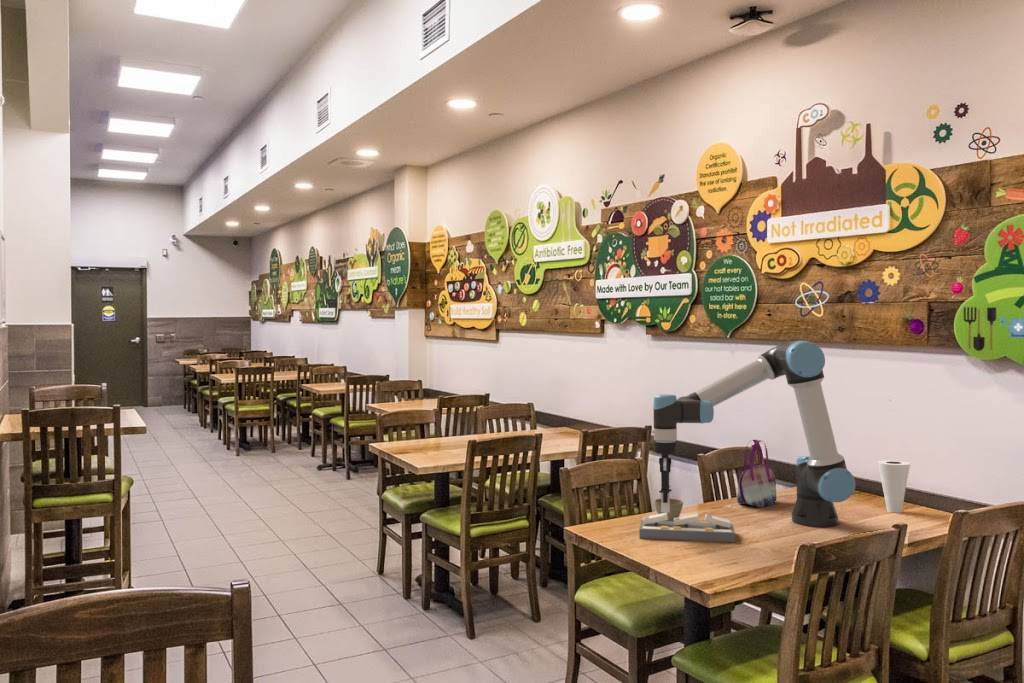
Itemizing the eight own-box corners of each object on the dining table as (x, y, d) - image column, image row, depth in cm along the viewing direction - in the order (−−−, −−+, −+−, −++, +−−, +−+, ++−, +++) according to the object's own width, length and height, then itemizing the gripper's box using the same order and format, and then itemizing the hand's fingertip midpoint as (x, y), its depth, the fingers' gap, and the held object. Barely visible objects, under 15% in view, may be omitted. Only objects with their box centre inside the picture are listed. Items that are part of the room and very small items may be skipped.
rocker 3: (729, 524, 246) (730, 519, 246) (729, 527, 242) (730, 522, 242) (704, 518, 248) (705, 513, 248) (704, 521, 244) (706, 516, 244)
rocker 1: (668, 517, 251) (666, 512, 251) (667, 520, 247) (666, 514, 247) (644, 521, 252) (643, 516, 252) (644, 524, 248) (642, 519, 249)
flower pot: (683, 525, 260) (683, 504, 260) (654, 524, 262) (654, 503, 262) (682, 518, 270) (682, 498, 270) (654, 517, 272) (654, 497, 272)
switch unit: (732, 532, 249) (732, 521, 249) (735, 542, 237) (734, 530, 237) (641, 529, 256) (641, 518, 256) (639, 538, 244) (639, 526, 244)
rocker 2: (698, 518, 248) (697, 513, 249) (699, 521, 245) (697, 515, 245) (674, 522, 250) (673, 517, 250) (674, 525, 246) (673, 520, 246)
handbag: (750, 510, 281) (749, 443, 281) (728, 505, 289) (727, 441, 289) (784, 502, 293) (783, 438, 293) (763, 498, 301) (762, 436, 301)
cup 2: (916, 511, 274) (915, 463, 274) (901, 516, 268) (900, 466, 268) (888, 506, 283) (887, 459, 283) (872, 510, 277) (871, 462, 277)
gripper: (654, 438, 256) (654, 507, 256) (652, 443, 243) (653, 515, 243) (676, 438, 254) (677, 508, 254) (676, 444, 242) (676, 516, 242)
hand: (665, 511), depth 249 cm, fingers closed
